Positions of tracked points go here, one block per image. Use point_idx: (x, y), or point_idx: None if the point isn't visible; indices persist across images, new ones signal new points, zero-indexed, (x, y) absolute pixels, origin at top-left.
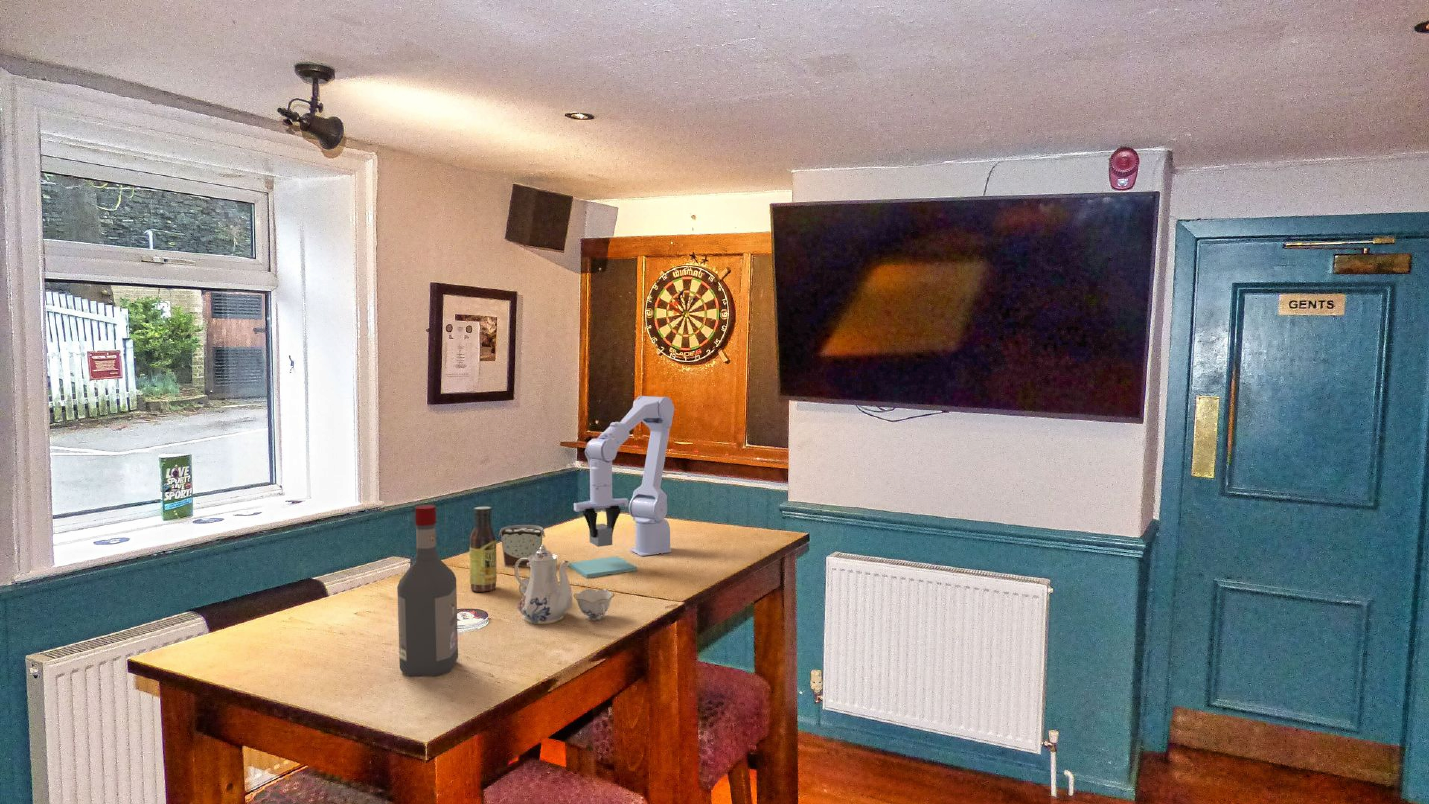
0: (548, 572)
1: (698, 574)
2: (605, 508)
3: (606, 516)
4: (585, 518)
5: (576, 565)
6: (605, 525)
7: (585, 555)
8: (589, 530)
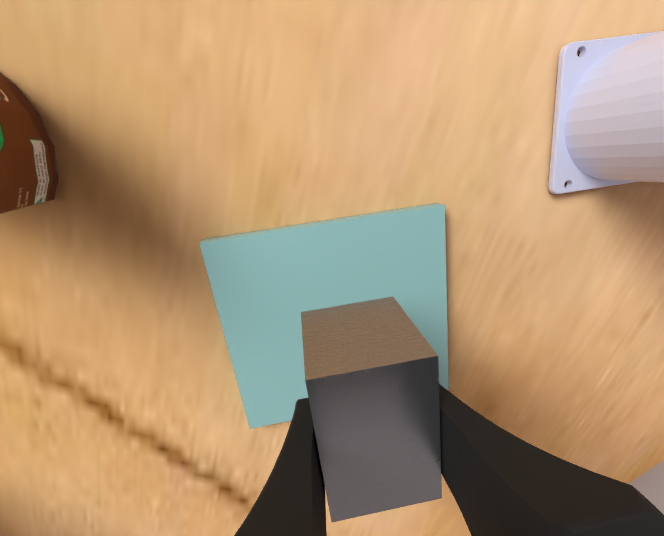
0: None
1: (579, 455)
2: (549, 528)
3: (484, 462)
4: (246, 520)
5: (230, 301)
6: (427, 421)
7: (322, 45)
8: (303, 353)
